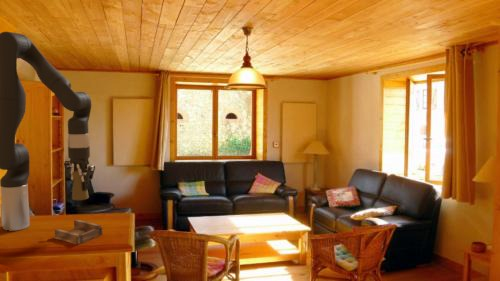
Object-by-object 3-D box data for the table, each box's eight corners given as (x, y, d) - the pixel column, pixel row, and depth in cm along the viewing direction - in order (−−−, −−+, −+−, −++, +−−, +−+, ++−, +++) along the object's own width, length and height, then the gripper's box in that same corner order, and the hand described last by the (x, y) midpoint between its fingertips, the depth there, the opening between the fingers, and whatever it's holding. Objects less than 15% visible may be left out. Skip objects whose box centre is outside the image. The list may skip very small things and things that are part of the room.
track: (53, 237, 151) (53, 227, 151) (78, 228, 161) (77, 219, 161) (78, 244, 146) (78, 234, 145) (102, 234, 156) (102, 224, 155)
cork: (83, 200, 152) (82, 172, 150) (68, 199, 152) (67, 170, 151) (92, 196, 157) (91, 168, 156) (77, 195, 158) (76, 167, 157)
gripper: (56, 145, 151) (58, 189, 154) (85, 148, 146) (86, 194, 148) (72, 142, 158) (74, 185, 161) (100, 145, 153) (101, 190, 155)
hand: (80, 189), depth 154 cm, fingers closed on cork, 4 cm apart
